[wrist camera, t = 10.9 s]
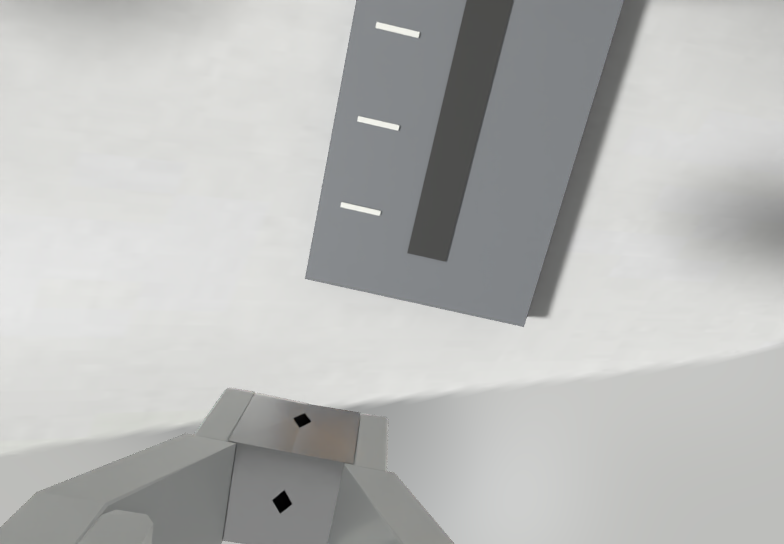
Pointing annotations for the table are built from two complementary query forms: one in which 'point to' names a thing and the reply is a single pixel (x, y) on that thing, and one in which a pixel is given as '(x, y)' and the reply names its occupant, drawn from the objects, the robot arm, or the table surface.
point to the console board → (456, 148)
